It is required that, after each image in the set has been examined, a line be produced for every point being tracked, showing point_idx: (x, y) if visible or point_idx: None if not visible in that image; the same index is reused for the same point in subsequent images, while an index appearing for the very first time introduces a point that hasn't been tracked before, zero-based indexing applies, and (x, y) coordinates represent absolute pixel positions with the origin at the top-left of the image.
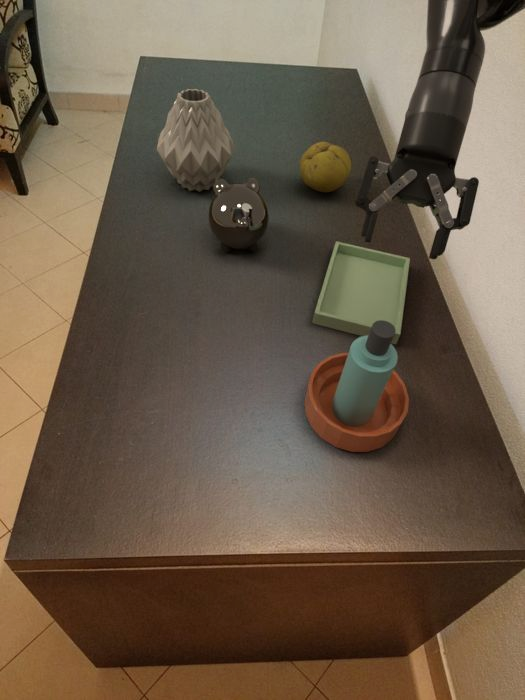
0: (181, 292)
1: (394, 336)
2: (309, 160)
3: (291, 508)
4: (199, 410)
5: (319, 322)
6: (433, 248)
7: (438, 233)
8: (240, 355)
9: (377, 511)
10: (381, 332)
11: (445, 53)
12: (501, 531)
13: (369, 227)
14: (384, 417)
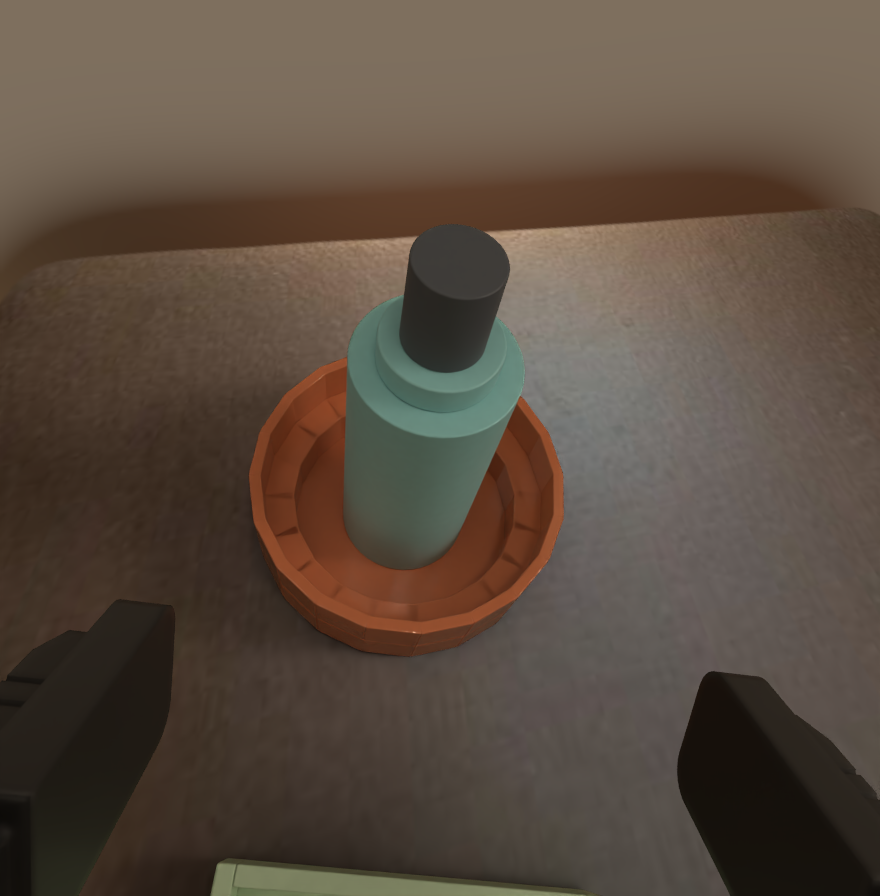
0: None
1: (241, 862)
2: None
3: (507, 287)
4: (770, 456)
5: (559, 889)
6: (144, 675)
7: (73, 742)
8: (760, 652)
9: (335, 295)
10: (468, 244)
11: None
12: (57, 281)
13: (814, 744)
14: (306, 500)
